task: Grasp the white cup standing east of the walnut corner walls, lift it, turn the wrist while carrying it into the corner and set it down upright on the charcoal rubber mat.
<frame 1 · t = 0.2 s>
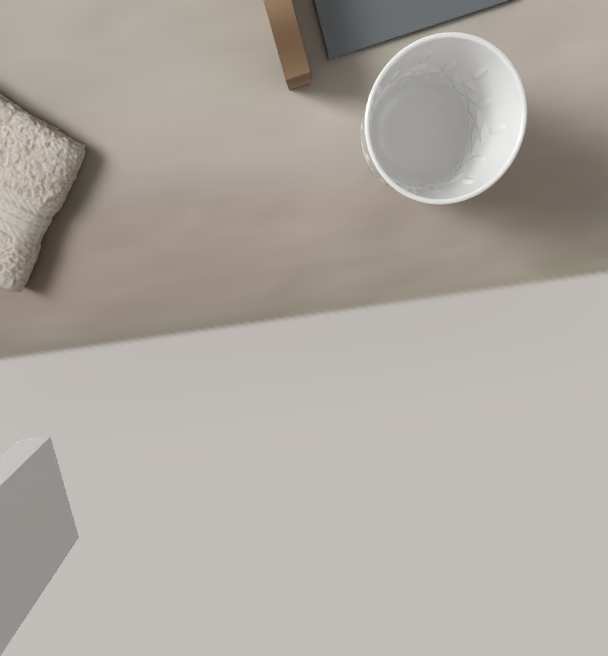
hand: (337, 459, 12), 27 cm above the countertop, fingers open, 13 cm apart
white cup: (410, 135, 36), on the countertop
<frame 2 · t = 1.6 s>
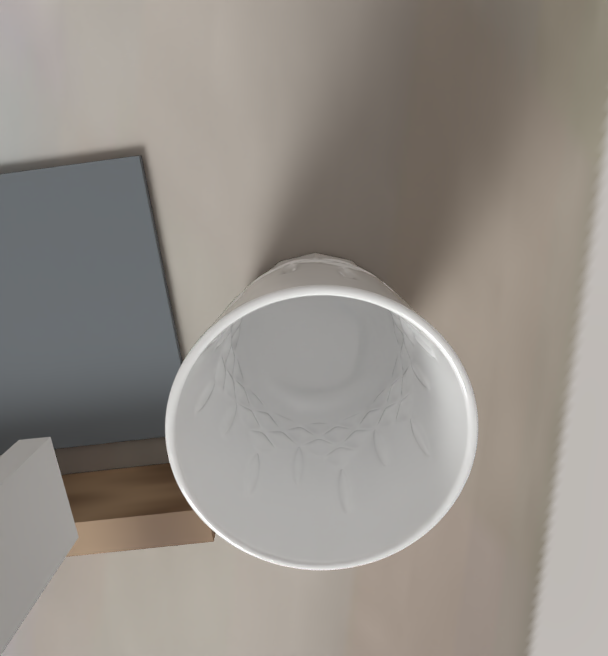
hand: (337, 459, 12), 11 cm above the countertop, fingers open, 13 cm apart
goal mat: (33, 319, 23), on the countertop
white cup: (315, 329, 23), on the countertop
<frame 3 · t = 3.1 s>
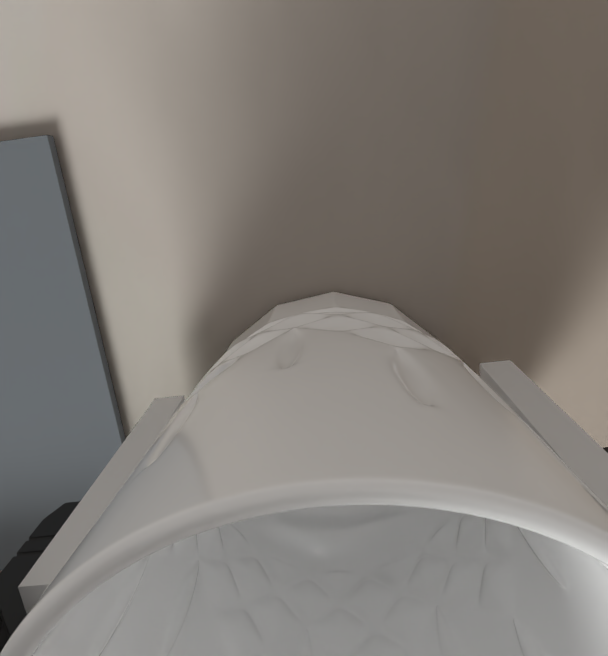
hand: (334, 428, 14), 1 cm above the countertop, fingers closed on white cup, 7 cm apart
white cup: (333, 406, 15), on the countertop, touching gripper
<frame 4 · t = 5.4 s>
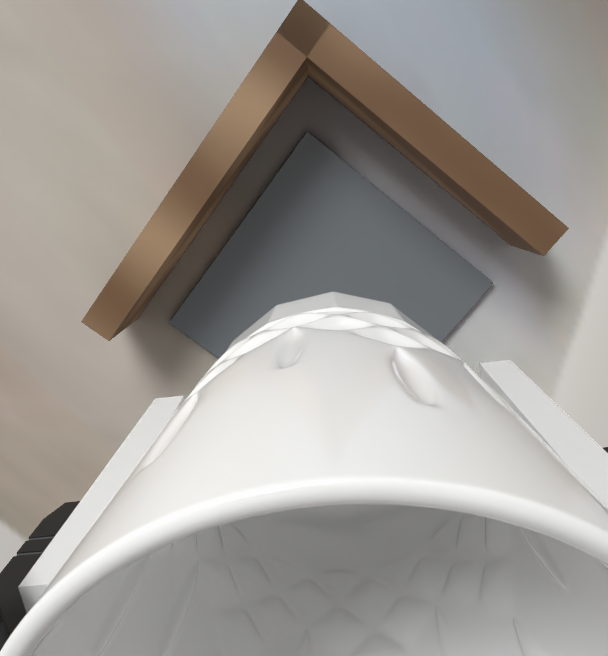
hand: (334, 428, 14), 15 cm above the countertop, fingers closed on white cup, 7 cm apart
corner walls: (308, 75, 25), on the countertop
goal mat: (328, 302, 28), on the countertop
white cup: (333, 406, 15), point 13 cm above the countertop, touching gripper
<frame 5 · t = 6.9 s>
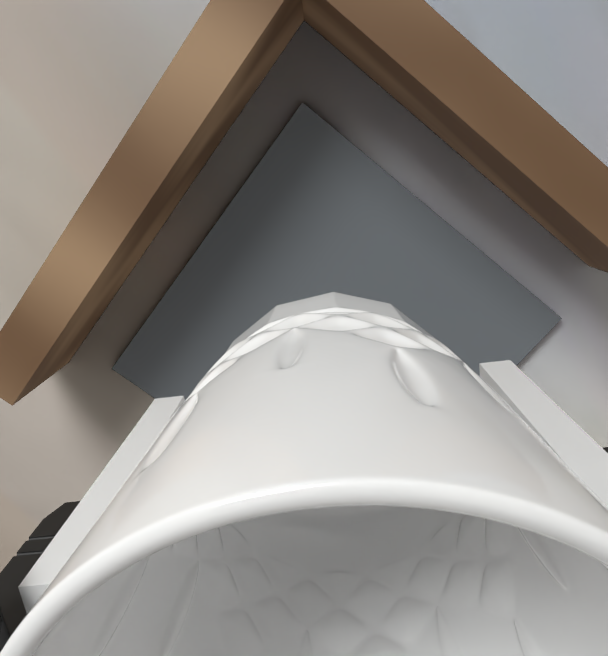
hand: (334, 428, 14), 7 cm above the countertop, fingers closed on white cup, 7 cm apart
corner walls: (303, 20, 17), on the countertop
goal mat: (330, 341, 20), on the countertop
white cup: (333, 406, 15), point 6 cm above the countertop, touching gripper
when the fingers open (3 cm above the countertop, at t = 8.0 s): white cup drops 2 cm, resting on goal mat.
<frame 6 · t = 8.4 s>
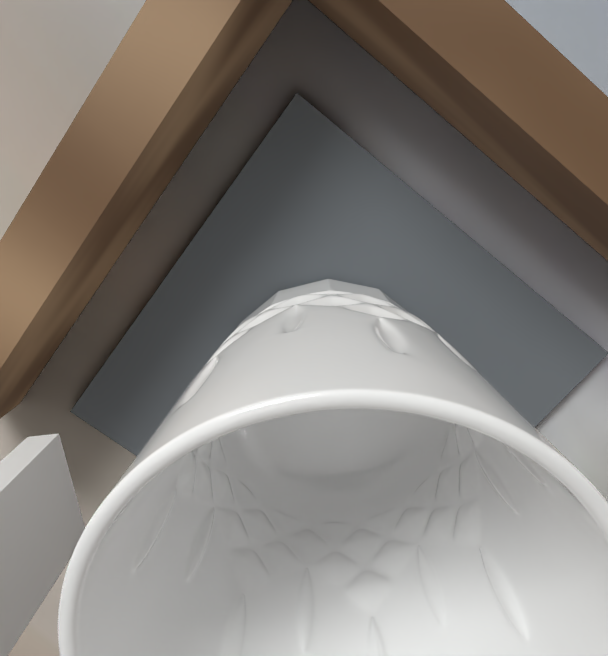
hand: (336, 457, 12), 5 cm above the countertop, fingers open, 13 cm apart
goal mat: (331, 379, 17), on the countertop
white cup: (329, 381, 17), resting on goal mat
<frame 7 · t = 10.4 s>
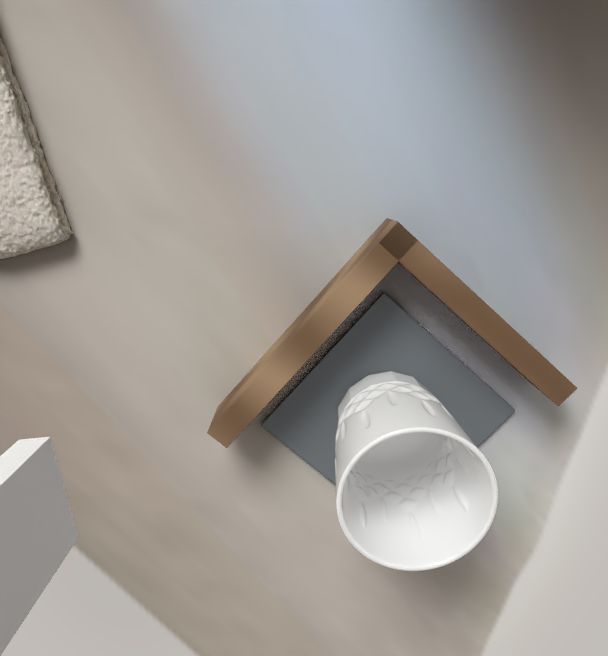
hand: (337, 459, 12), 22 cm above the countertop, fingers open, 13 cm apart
corner walls: (387, 252, 33), on the countertop
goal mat: (387, 416, 36), on the countertop
white cup: (386, 416, 36), resting on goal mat
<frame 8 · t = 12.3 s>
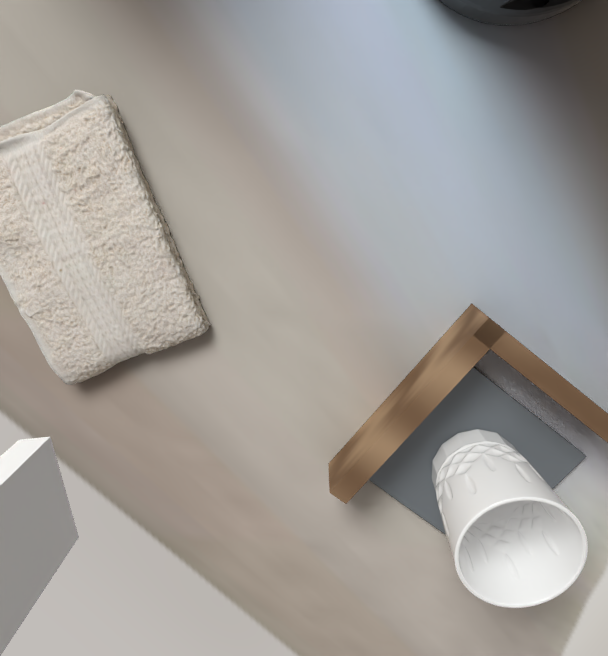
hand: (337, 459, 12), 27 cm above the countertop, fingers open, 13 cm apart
washcloth: (95, 242, 39), on the countertop
corner walls: (472, 331, 39), on the countertop
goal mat: (473, 465, 42), on the countertop
white cup: (473, 466, 42), resting on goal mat
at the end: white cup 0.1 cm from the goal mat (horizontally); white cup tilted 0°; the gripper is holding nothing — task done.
